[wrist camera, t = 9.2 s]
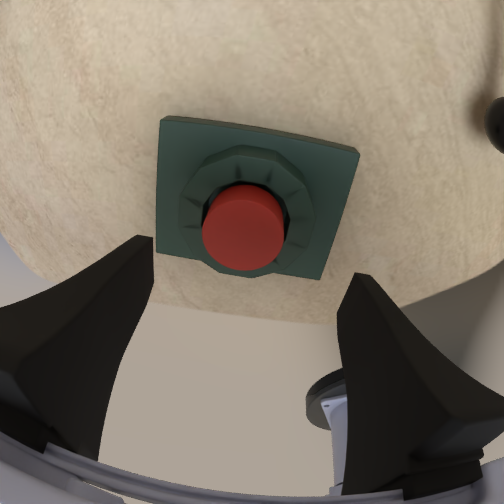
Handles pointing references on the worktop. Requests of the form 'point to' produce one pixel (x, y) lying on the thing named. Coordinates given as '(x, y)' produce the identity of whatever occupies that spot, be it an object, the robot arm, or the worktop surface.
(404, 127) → the worktop surface
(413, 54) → the worktop surface
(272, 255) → the button
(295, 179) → the button box
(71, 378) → the robot arm
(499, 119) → the grey lever handle
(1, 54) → the worktop surface
